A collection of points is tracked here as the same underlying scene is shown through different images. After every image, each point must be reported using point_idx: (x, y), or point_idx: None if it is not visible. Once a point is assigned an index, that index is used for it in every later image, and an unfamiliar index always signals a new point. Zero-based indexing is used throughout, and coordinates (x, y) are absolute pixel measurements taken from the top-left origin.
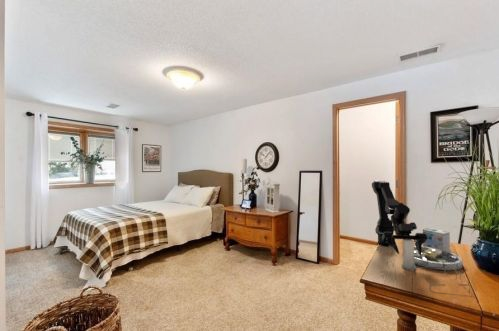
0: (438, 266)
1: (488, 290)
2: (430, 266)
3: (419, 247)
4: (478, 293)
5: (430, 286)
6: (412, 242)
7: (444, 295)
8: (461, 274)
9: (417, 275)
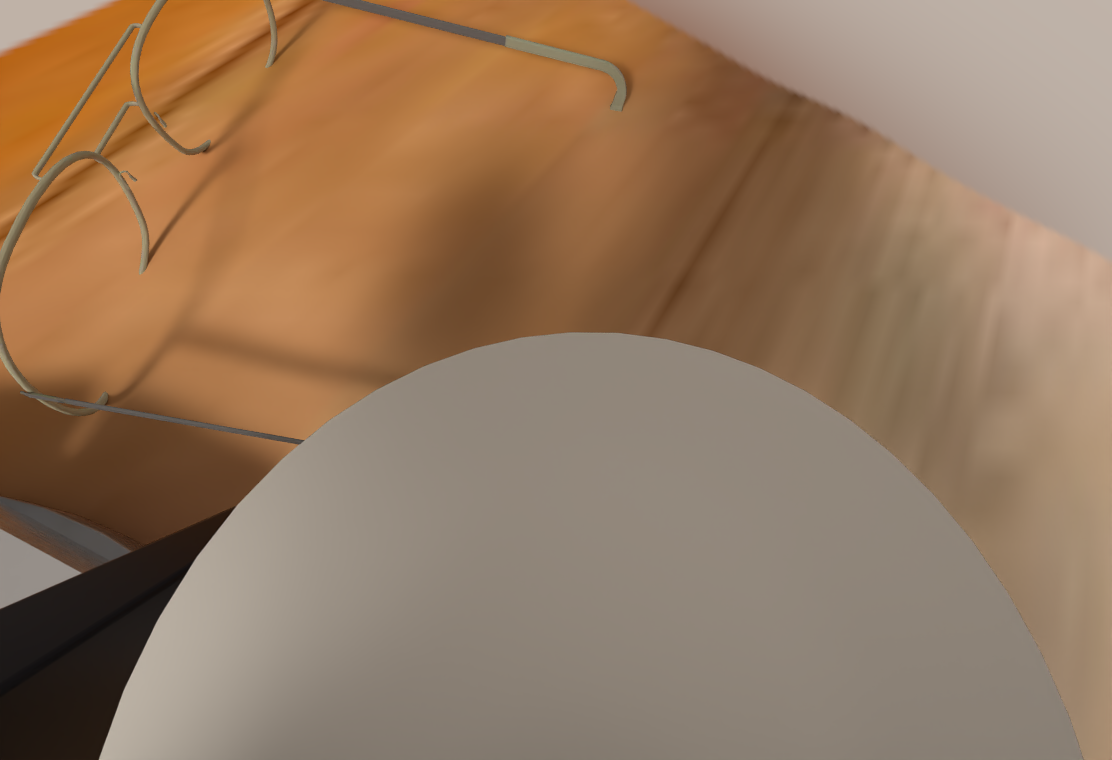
0: (35, 524)
1: (62, 57)
2: None
3: (60, 634)
4: (227, 29)
5: (619, 80)
6: (494, 363)
7: (560, 29)
8: (142, 41)
9: None
